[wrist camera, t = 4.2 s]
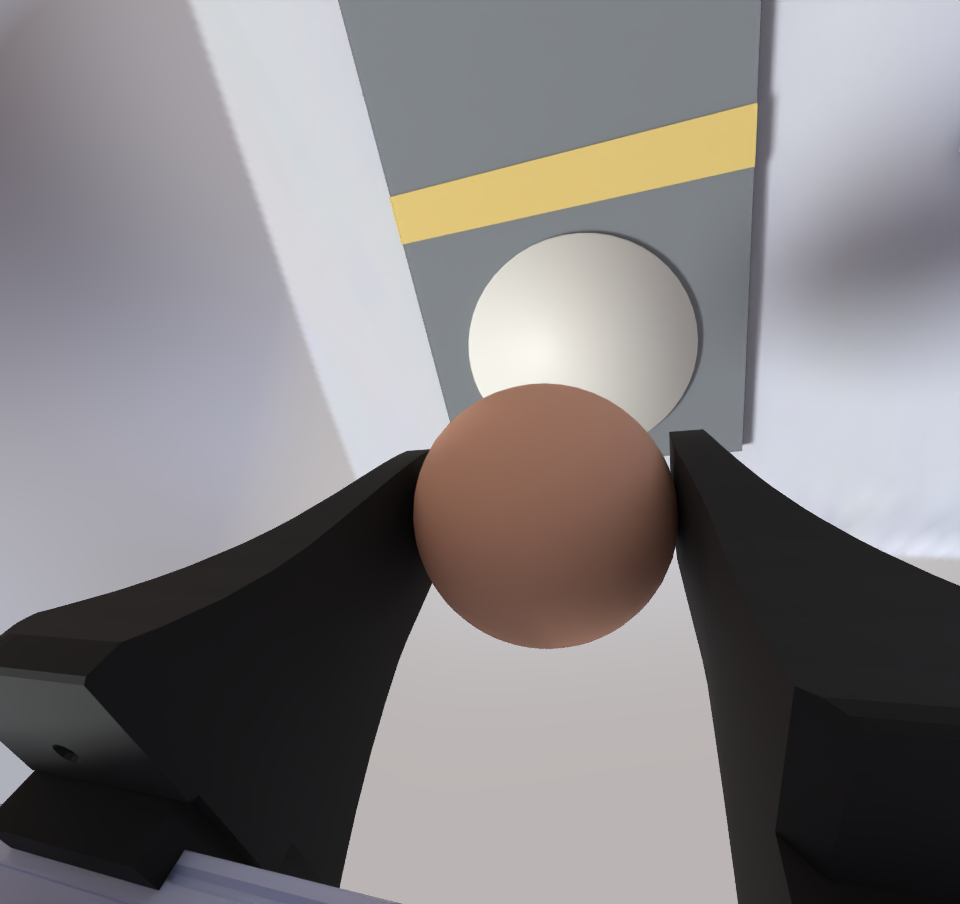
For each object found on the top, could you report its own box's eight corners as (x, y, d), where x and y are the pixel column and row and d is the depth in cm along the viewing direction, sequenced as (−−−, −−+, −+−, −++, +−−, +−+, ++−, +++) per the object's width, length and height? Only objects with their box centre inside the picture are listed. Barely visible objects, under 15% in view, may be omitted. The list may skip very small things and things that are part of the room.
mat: (739, 445, 18) (742, 452, 18) (464, 462, 22) (461, 468, 21) (785, -691, 8) (794, -737, 8) (259, -324, 12) (245, -342, 11)
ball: (716, 419, 10) (782, 592, 6) (590, 560, 13) (576, 747, 9) (510, 305, 10) (434, 404, 6) (426, 473, 13) (334, 620, 9)
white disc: (752, 308, 15) (753, 309, 15) (611, 482, 20) (611, 484, 20) (531, 185, 15) (530, 185, 15) (438, 388, 20) (437, 390, 19)
